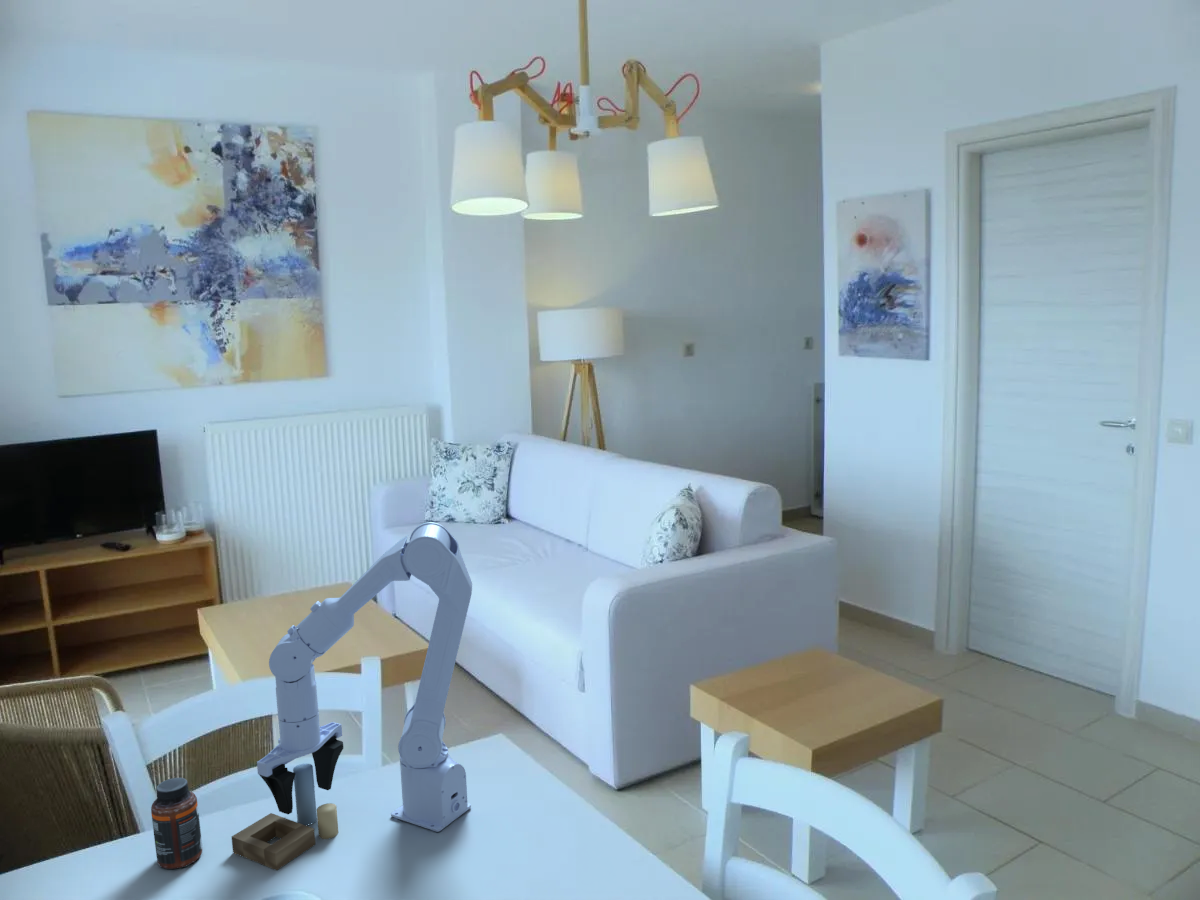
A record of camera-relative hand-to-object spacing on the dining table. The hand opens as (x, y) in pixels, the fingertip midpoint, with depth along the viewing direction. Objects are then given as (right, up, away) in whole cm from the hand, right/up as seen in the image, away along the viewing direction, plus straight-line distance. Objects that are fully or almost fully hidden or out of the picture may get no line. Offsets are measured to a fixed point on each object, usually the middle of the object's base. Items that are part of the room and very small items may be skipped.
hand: (305, 799), depth 141 cm
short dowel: (+4, -4, -3) cm, 7 cm away
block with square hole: (-2, -5, -7) cm, 8 cm away
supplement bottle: (-15, -5, -8) cm, 18 cm away
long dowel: (0, -3, +1) cm, 3 cm away
